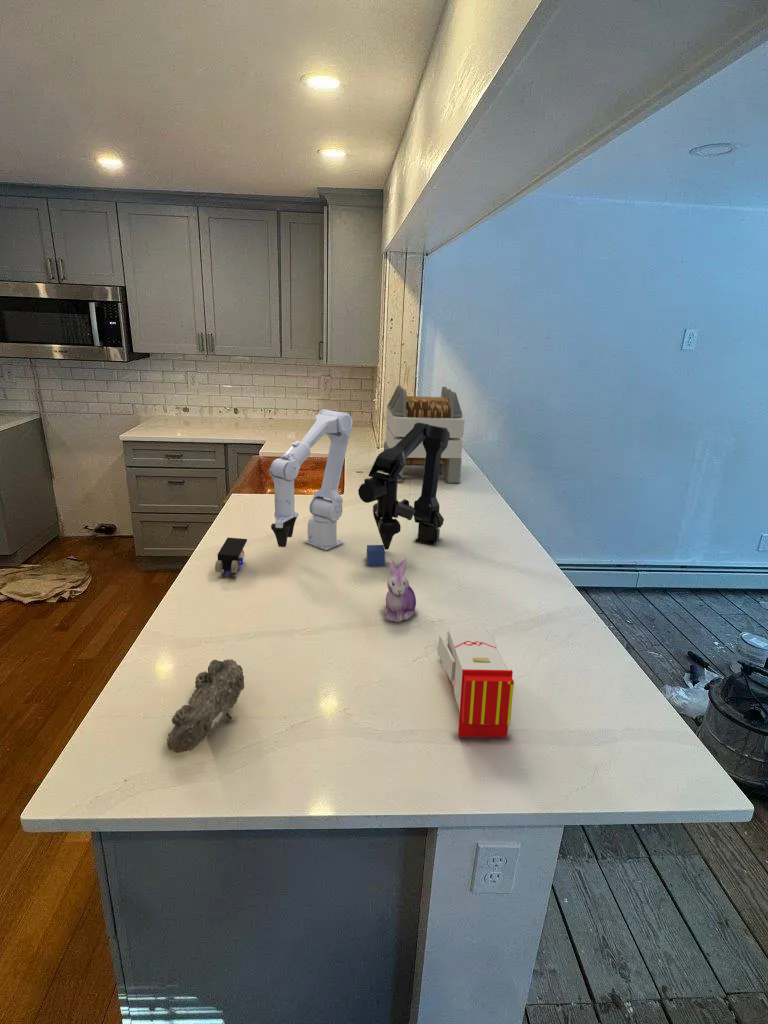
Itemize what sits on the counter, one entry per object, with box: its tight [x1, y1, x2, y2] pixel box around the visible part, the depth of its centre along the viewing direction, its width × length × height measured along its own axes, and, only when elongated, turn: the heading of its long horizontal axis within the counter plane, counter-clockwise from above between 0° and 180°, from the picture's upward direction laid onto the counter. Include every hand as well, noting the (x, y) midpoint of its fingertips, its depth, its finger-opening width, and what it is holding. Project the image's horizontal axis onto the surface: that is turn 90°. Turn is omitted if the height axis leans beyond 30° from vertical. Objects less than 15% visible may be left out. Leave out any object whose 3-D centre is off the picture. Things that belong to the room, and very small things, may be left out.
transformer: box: [383, 384, 465, 484], centre depth 268 cm, size 34×33×41 cm
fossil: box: [166, 658, 245, 754], centre depth 106 cm, size 22×10×15 cm
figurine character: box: [214, 537, 248, 578], centre depth 166 cm, size 7×8×15 cm
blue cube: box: [365, 544, 386, 567], centre depth 176 cm, size 5×5×5 cm
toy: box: [437, 628, 515, 738], centre depth 117 cm, size 12×13×30 cm
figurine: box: [384, 558, 417, 623], centre depth 145 cm, size 9×10×15 cm
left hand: (285, 541), depth 171 cm, fingers open, 7 cm apart
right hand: (384, 543), depth 175 cm, fingers open, 9 cm apart
